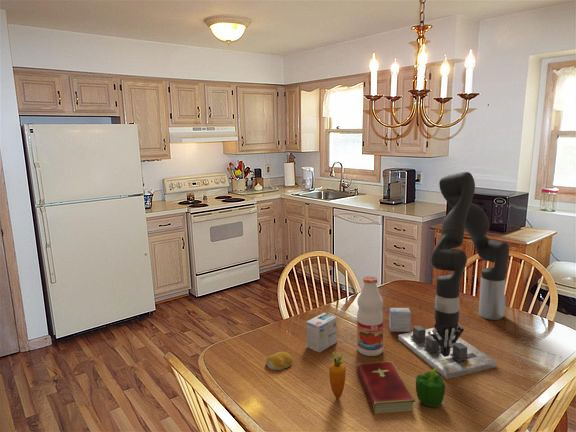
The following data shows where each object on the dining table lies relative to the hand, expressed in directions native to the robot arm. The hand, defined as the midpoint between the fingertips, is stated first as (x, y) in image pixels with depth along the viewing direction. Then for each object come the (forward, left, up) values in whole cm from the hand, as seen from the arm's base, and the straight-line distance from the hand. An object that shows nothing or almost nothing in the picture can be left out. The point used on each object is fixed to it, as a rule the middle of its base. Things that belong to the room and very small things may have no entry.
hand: (444, 355), depth 138 cm
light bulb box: (+33, -29, -5) cm, 44 cm away
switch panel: (-6, -8, -4) cm, 11 cm away
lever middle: (-1, -8, -2) cm, 8 cm away
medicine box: (-1, -29, -5) cm, 29 cm away
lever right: (-1, -16, -2) cm, 16 cm away
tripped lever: (-6, 0, -2) cm, 6 cm away
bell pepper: (+16, +14, -5) cm, 22 cm away
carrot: (+41, +3, -5) cm, 41 cm away
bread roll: (+52, -22, -5) cm, 57 cm away
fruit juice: (+18, -19, -5) cm, 27 cm away
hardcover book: (+26, +4, -5) cm, 27 cm away
